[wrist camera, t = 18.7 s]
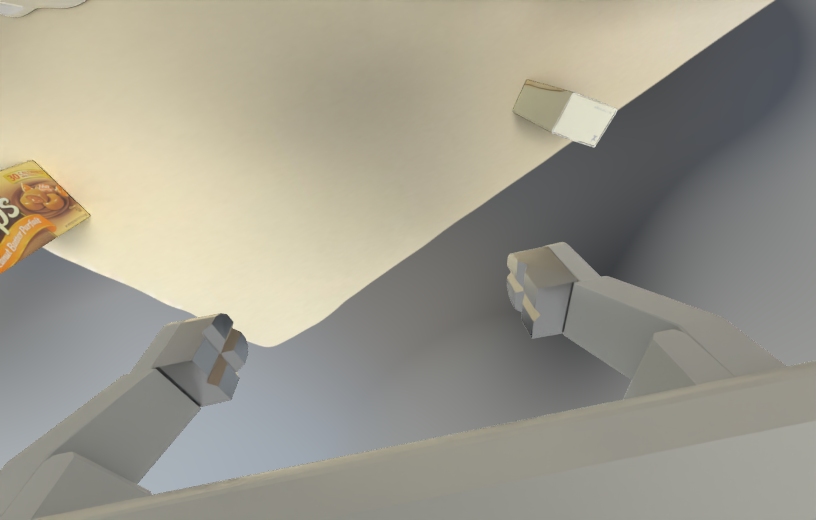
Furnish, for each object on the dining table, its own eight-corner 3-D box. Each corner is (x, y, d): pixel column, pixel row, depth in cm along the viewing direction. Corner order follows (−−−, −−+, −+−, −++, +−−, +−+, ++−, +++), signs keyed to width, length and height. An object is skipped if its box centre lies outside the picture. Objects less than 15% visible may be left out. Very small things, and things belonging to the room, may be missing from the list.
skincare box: (562, 93, 43) (621, 108, 33) (546, 125, 45) (596, 149, 35) (524, 78, 41) (574, 89, 31) (509, 112, 44) (551, 133, 34)
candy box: (6, 168, 40) (-152, 224, 28) (34, 158, 40) (-114, 210, 28) (69, 223, 46) (-42, 291, 33) (93, 215, 45) (-9, 280, 33)
